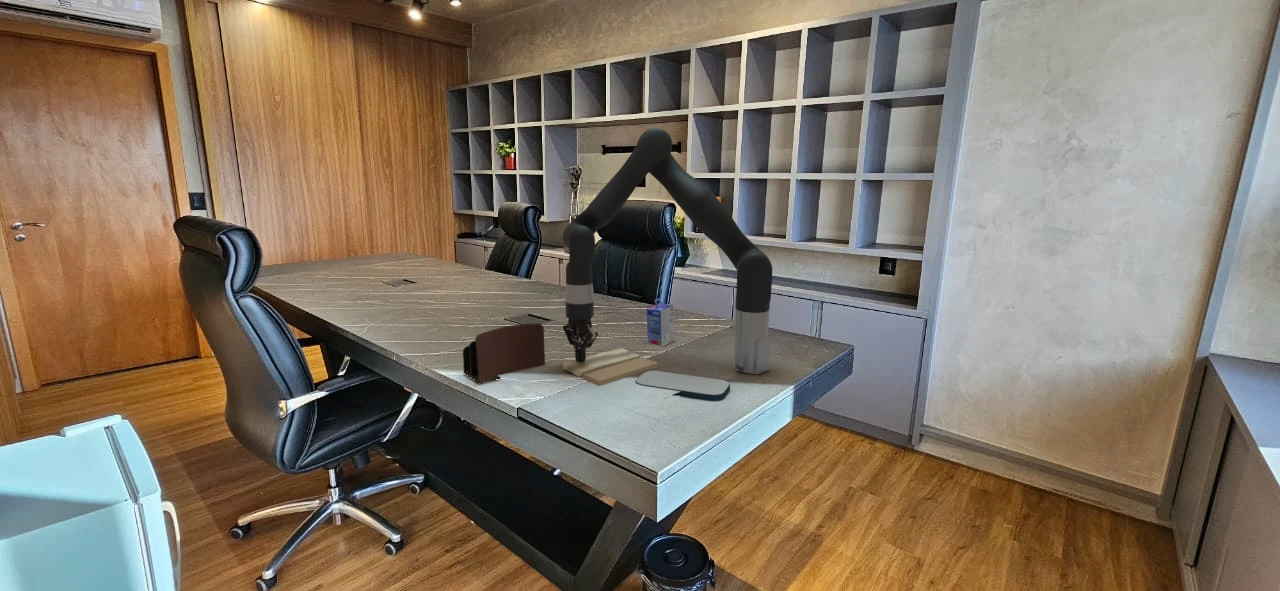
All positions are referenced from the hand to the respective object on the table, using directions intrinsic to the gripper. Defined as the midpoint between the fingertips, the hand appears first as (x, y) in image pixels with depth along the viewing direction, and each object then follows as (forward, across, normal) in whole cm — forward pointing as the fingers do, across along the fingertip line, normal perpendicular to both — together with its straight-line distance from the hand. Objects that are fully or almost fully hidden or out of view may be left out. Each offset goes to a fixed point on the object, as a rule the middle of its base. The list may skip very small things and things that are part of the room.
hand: (580, 361), depth 158 cm
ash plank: (+2, -2, -6) cm, 7 cm away
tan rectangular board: (+3, -6, -6) cm, 9 cm away
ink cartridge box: (+4, +5, -37) cm, 38 cm away
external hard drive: (+4, -27, -12) cm, 29 cm away
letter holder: (+4, +15, +14) cm, 21 cm away
